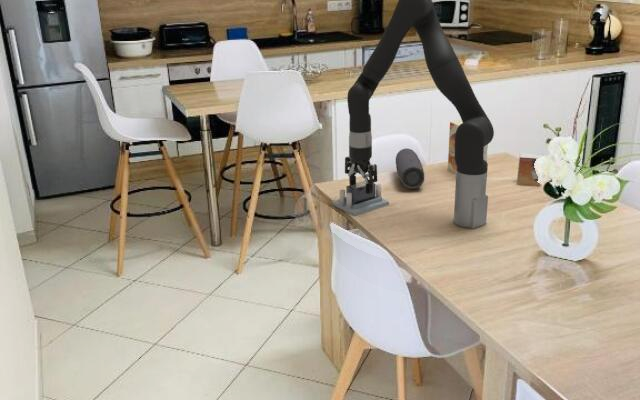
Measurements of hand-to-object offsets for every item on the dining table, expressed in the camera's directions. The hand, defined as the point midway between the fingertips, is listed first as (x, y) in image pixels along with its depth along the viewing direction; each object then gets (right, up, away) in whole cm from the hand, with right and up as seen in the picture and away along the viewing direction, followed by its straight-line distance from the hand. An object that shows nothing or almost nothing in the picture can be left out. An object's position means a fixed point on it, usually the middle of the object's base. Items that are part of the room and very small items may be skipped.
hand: (360, 190), depth 217 cm
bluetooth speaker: (+20, +3, +23) cm, 31 cm away
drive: (0, -4, +2) cm, 4 cm away
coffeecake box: (+42, +6, +29) cm, 51 cm away
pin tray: (0, -5, +2) cm, 6 cm away
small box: (+62, +3, +18) cm, 65 cm away
